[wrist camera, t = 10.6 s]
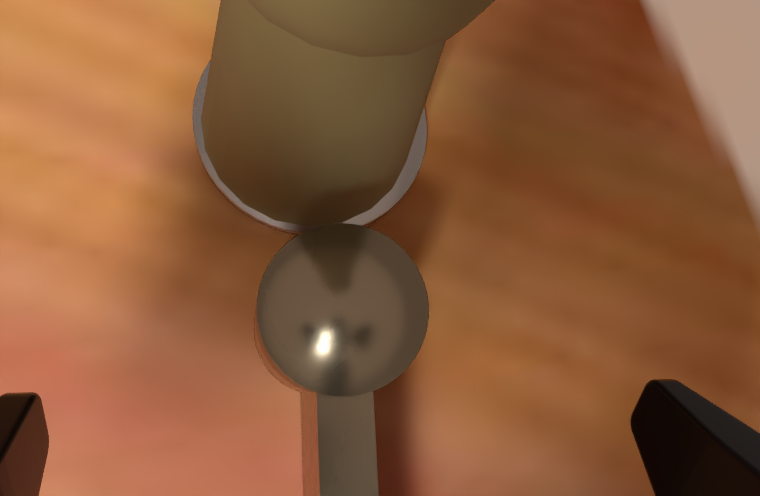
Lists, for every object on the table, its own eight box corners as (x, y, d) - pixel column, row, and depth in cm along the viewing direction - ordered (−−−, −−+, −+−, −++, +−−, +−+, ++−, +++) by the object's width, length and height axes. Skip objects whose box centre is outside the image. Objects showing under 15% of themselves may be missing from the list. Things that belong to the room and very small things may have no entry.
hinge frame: (471, 762, 16) (556, 902, 11) (189, 817, 14) (164, 1001, 10) (391, -312, 23) (424, -474, 19) (196, -347, 21) (184, -532, 17)
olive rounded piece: (331, -2, 19) (436, -471, 9) (449, 155, 19) (704, -136, 8) (156, 92, 18) (26, -354, 7) (283, 268, 17) (345, 76, 7)
